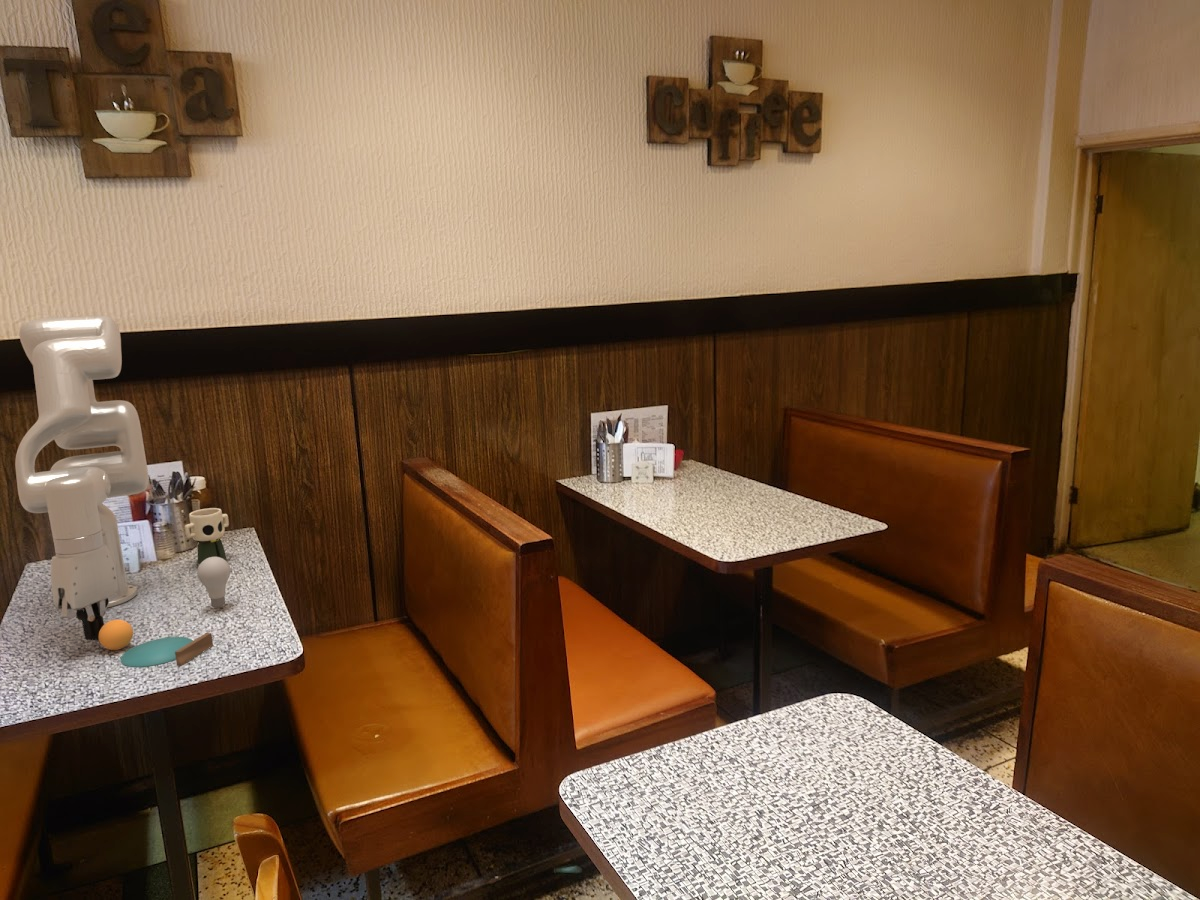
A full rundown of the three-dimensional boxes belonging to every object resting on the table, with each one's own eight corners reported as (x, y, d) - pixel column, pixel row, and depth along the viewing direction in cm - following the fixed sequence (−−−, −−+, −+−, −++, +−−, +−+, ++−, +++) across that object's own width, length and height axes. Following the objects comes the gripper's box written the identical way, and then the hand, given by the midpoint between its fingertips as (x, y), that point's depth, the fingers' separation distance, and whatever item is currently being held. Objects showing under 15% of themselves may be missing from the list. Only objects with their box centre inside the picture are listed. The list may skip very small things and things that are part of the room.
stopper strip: (176, 665, 146) (174, 651, 145) (208, 645, 153) (206, 632, 153) (181, 665, 145) (179, 652, 145) (213, 645, 153) (211, 633, 152)
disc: (104, 664, 147) (104, 663, 147) (155, 635, 158) (155, 634, 158) (161, 669, 144) (161, 668, 144) (209, 640, 155) (209, 639, 155)
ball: (86, 636, 151) (102, 621, 149) (110, 623, 156) (127, 609, 154) (104, 660, 151) (121, 646, 149) (128, 646, 156) (145, 632, 154)
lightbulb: (226, 613, 168) (219, 562, 166) (197, 614, 168) (189, 563, 166) (240, 602, 174) (233, 552, 172) (211, 603, 174) (204, 553, 172)
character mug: (200, 573, 192) (192, 519, 190) (182, 568, 196) (174, 516, 194) (242, 559, 201) (235, 507, 199) (224, 555, 205) (217, 504, 203)
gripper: (97, 530, 158) (113, 621, 162) (24, 555, 144) (43, 654, 148) (129, 532, 156) (144, 623, 160) (58, 557, 142) (76, 657, 146)
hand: (95, 638), depth 154 cm, fingers closed
